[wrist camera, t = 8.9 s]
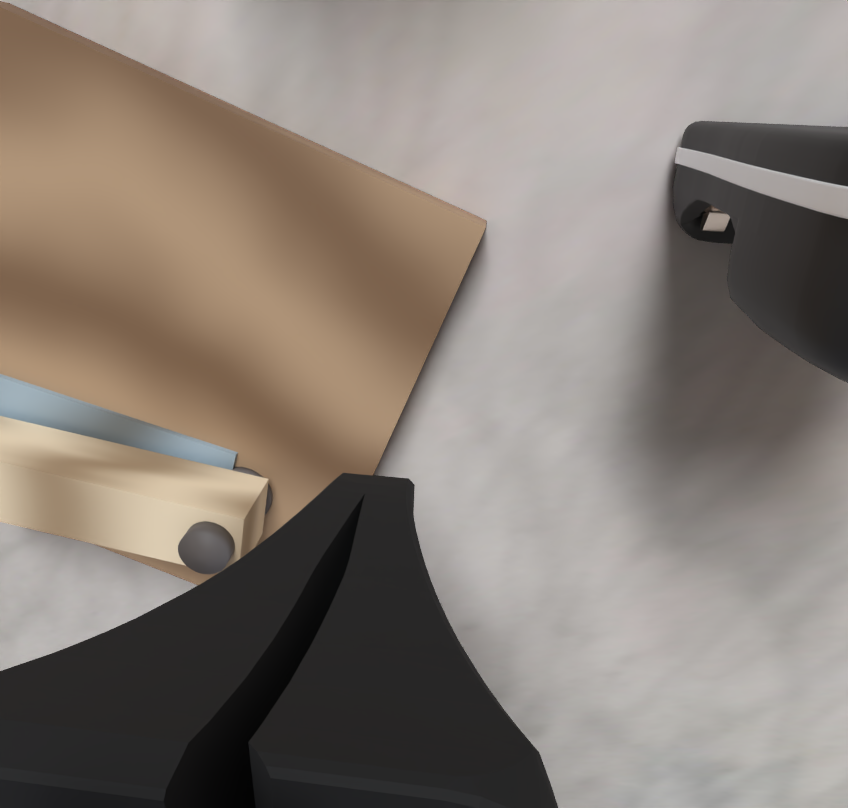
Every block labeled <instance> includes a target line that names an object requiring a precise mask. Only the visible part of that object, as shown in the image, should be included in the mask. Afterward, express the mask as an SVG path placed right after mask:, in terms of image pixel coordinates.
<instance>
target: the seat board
mask: <svg viewBox="0 0 848 808" xmlns="http://www.w3.org/2000/svg"><path fill="white" fill-rule="evenodd" d="M486 222H487V221H486V220H484V219H482V218H479V217H477V216H475V215H473V214H471V213H468V212H466V211H464V210H462V209H460V208H457V207H455V206H453V205H451V204H449V203H446V202H444V201H442V200H440V199H438V198H436V197H433V196H431V195H429V194H427V193H425V192H422V191H420V190H418V189H416V188H414V187H411V186H409V185H407V184H405V183H403V182H400V181H398V180H396V179H394V178H392V177H389V176H387V175H385V174H383V173H381V172H378V171H376V170H374V169H372V168H370V167H367V166H365V165H363V164H361V163H359V162H356V161H354V160H352V159H350V158H348V157H345V156H343V155H341V154H339V153H337V152H334V151H332V150H330V149H328V148H326V147H324V146H321V145H319V144H317V143H315V142H313V141H310V140H308V139H306V138H304V137H302V136H299V135H297V134H295V133H293V132H291V131H288V130H286V129H284V128H282V127H280V126H277V125H275V124H273V123H271V122H269V121H266V120H264V119H262V118H260V117H258V116H255V115H253V114H251V113H249V112H247V111H244V110H242V109H240V108H238V107H236V106H233V105H231V104H229V103H227V102H225V101H223V100H220V99H218V98H216V97H214V96H212V95H209V94H207V93H205V92H203V91H201V90H198V89H196V88H194V87H192V86H190V85H187V84H185V83H183V82H181V81H179V80H176V79H174V78H172V77H170V76H168V75H165V74H163V73H161V72H159V71H157V70H154V69H152V68H150V67H148V66H146V65H143V64H141V63H139V62H137V61H135V60H132V59H130V58H128V57H126V56H124V55H122V54H119V53H117V52H115V51H113V50H111V49H108V48H106V47H104V46H102V45H100V44H97V43H95V42H93V41H91V40H89V39H86V38H84V37H82V36H80V35H78V34H75V33H73V32H71V31H69V30H67V29H64V28H62V27H60V26H58V25H56V24H53V23H51V22H49V21H47V20H45V19H42V18H40V17H38V16H36V15H34V14H31V13H29V12H27V11H25V10H23V9H21V8H18V7H16V6H14V5H12V4H10V3H6V2H1V1H0V416H3V417H7V418H11V419H16V420H20V421H24V422H28V423H33V424H37V425H41V426H45V427H50V428H54V429H58V430H63V431H67V432H71V433H75V434H80V435H84V436H88V437H92V438H97V439H101V440H105V441H109V442H114V443H118V444H122V445H126V446H131V447H135V448H139V449H143V450H148V451H152V452H156V453H160V454H165V455H169V456H173V457H177V458H182V459H186V460H190V461H195V462H199V463H203V464H207V465H212V466H216V467H220V468H224V469H229V470H233V471H237V472H241V473H246V474H250V475H254V476H258V477H263V478H267V479H269V482H268V490H267V499H266V507H265V516H264V524H263V533H262V535H261V537H260V539H259V541H258V543H257V545H256V546H258V545H259V544H260V543H262V542H263V541H264V540H266V539H267V538H268V537H270V536H271V535H272V534H273V533H275V532H276V531H277V530H278V529H279V528H281V527H282V526H283V525H284V524H285V523H286V522H288V521H289V520H290V519H291V518H292V517H293V516H295V515H296V514H297V513H298V512H299V511H301V510H302V509H303V508H304V507H305V506H306V505H307V504H308V503H309V502H311V501H312V500H313V499H314V498H315V497H316V496H317V495H318V494H319V493H320V492H322V491H323V490H324V489H325V488H326V487H327V486H328V485H329V484H330V483H331V482H332V481H334V480H335V479H336V478H337V477H338V476H339V475H341V474H342V473H351V474H362V475H373V474H374V472H375V470H376V467H377V465H378V463H379V461H380V459H381V456H382V454H383V452H384V450H385V448H386V445H387V443H388V441H389V439H390V437H391V435H392V432H393V430H394V428H395V426H396V424H397V421H398V419H399V417H400V415H401V413H402V410H403V408H404V406H405V404H406V402H407V399H408V397H409V395H410V393H411V391H412V388H413V386H414V384H415V382H416V380H417V378H418V375H419V373H420V371H421V369H422V367H423V364H424V362H425V360H426V358H427V356H428V353H429V351H430V349H431V347H432V345H433V342H434V340H435V338H436V336H437V334H438V331H439V329H440V327H441V325H442V323H443V321H444V318H445V316H446V314H447V312H448V310H449V307H450V305H451V303H452V301H453V299H454V296H455V294H456V292H457V290H458V288H459V285H460V283H461V281H462V279H463V277H464V274H465V272H466V270H467V268H468V266H469V263H470V261H471V259H472V257H473V255H474V253H475V250H476V248H477V246H478V244H479V242H480V239H481V237H482V235H483V233H484V231H485V228H486ZM95 545H97V544H95ZM98 546H100V547H103V548H105V549H108V550H110V551H113V552H115V553H118V554H120V555H123V556H125V557H128V558H131V559H133V560H136V561H138V562H141V563H143V564H146V565H148V566H151V567H153V568H156V569H158V570H161V571H164V572H166V573H169V574H171V575H174V576H176V577H179V578H181V579H184V580H186V581H189V582H192V583H194V584H197V585H200V584H201V583H203V582H205V581H206V580H208V579H210V578H211V577H213V576H214V575H216V574H218V573H215V574H201V573H198V572H195V571H193V570H192V569H190V568H189V567H187V566H185V565H181V564H177V563H173V562H168V561H164V560H160V559H156V558H152V557H147V556H143V555H139V554H135V553H130V552H126V551H122V550H118V549H113V548H109V547H105V546H101V545H98ZM256 546H255V547H256Z"/></svg>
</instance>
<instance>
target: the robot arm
mask: <svg viewBox="0 0 848 808" xmlns="http://www.w3.org/2000/svg"><path fill="white" fill-rule="evenodd" d="M413 508H414V484H413V483H412V482H411V481H410V480H409V479H407V478H396V477H385V476H374V475H362V474H351V473H342V474H341V475H339V476H338V477H337V478H336V479H335V480H334V481H332V482H331V483H330V484H329V485H328V486H327V487H326V488H325V489H324V490H323V491H322V492H320V493H319V494H318V495H317V496H316V497H315V498H314V499H313V500H312V501H311V502H309V503H308V504H307V505H306V506H305V507H304V508H303V509H302V510H301V511H299V512H298V513H297V514H296V515H295V516H293V517H292V518H291V519H290V520H289V521H288V522H286V523H285V524H284V525H283V526H282V527H281V528H279V529H278V530H277V531H276V532H275V533H273V534H272V535H271V536H270V537H268V538H267V539H266V540H264V541H263V542H262V543H260V544H259V545H258V546H256V547H255V548H254V549H252V550H251V551H250V552H248V553H247V554H246V555H244V556H243V557H242V558H240V559H239V560H238V561H236V562H235V563H233V564H232V565H230V566H229V567H227V568H226V569H224V570H223V571H221V572H219V573H218V574H216V575H214V576H213V577H211V578H210V579H208V580H206V581H205V582H203V583H201V584H200V585H198V586H196V587H195V588H193V589H191V590H189V591H188V592H186V593H184V594H182V595H180V596H178V597H176V598H174V599H172V600H171V601H169V602H167V603H165V604H163V605H161V606H159V607H157V608H155V609H153V610H151V611H149V612H147V613H145V614H144V615H142V616H140V617H138V618H136V619H133V620H131V621H129V622H127V623H125V624H122V625H120V626H118V627H116V628H114V629H111V630H109V631H107V632H105V633H102V634H100V635H97V636H95V637H93V638H90V639H88V640H85V641H83V642H80V643H78V644H75V645H73V646H70V647H68V648H65V649H63V650H60V651H57V652H55V653H52V654H49V655H46V656H43V657H41V658H38V659H35V660H32V661H29V662H26V663H23V664H20V665H17V666H14V667H11V668H8V669H6V670H3V671H0V808H558V806H557V803H556V799H555V796H554V793H553V790H552V787H551V784H550V781H549V779H548V776H547V773H546V770H545V767H544V765H543V762H542V759H541V756H540V754H539V752H538V751H537V749H536V748H535V747H534V746H533V745H532V744H531V742H530V741H529V740H528V739H527V738H526V737H525V735H524V734H523V733H522V732H521V731H520V729H519V728H518V727H517V726H516V724H515V723H514V722H513V721H512V719H511V718H510V717H509V716H508V714H507V713H506V712H505V710H504V709H503V708H502V706H501V705H500V704H499V702H498V701H497V699H496V698H495V697H494V695H493V694H492V693H491V691H490V690H489V688H488V687H487V686H486V684H485V683H484V681H483V680H482V678H481V676H480V675H479V673H478V672H477V670H476V668H475V667H474V665H473V663H472V662H471V660H470V659H469V657H468V655H467V654H466V652H465V651H464V649H463V647H462V646H461V644H460V642H459V640H458V639H457V637H456V635H455V633H454V631H453V629H452V627H451V625H450V623H449V621H448V619H447V617H446V615H445V613H444V611H443V609H442V606H441V604H440V602H439V600H438V597H437V595H436V593H435V590H434V588H433V585H432V582H431V580H430V577H429V574H428V571H427V568H426V565H425V562H424V559H423V556H422V553H421V549H420V545H419V541H418V537H417V533H416V528H415V523H414V516H413Z"/></svg>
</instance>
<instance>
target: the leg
mask: <svg viewBox="0 0 848 808" xmlns="http://www.w3.org/2000/svg"><path fill="white" fill-rule="evenodd" d="M268 482H269V479H267V478H263V477H258V476H254V475H250V474H246V473H241V472H237V471H233V470H229V469H224V468H220V467H216V466H212V465H207V464H203V463H199V462H195V461H190V460H186V459H182V458H177V457H173V456H169V455H165V454H160V453H156V452H152V451H148V450H143V449H139V448H135V447H131V446H126V445H122V444H118V443H114V442H109V441H105V440H101V439H97V438H92V437H88V436H84V435H80V434H75V433H71V432H67V431H63V430H58V429H54V428H50V427H45V426H41V425H37V424H33V423H28V422H24V421H20V420H16V419H11V418H7V417H3V416H0V522H3V523H8V524H12V525H16V526H20V527H25V528H29V529H33V530H37V531H41V532H46V533H50V534H54V535H58V536H63V537H67V538H71V539H75V540H80V541H84V542H88V543H92V544H97V545H101V546H105V547H109V548H113V549H118V550H122V551H126V552H130V553H135V554H139V555H143V556H147V557H152V558H156V559H160V560H164V561H168V562H173V563H177V564H181V565H185V566H187V567H189V568H190V569H192V570H193V571H195V572H198V573H201V574H215V573H219V572H221V571H223V570H224V569H226V568H227V567H229V566H230V565H232V564H233V563H235V562H236V561H238V560H239V559H240V558H242V557H243V556H244V555H246V554H247V553H248V552H250V551H251V550H252V549H254V548H255V546H256V545H257V543H258V541H259V539H260V537H261V535H262V533H263V524H264V516H265V507H266V499H267V490H268Z"/></svg>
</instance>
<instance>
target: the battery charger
mask: <svg viewBox="0 0 848 808" xmlns="http://www.w3.org/2000/svg"><path fill="white" fill-rule="evenodd" d="M675 163H676V164H678V165H677V170H676V175H675V180H674V185H673V193H674V211H675V215H676V219H677V222H678V224H679V226H680V227H681V228H682V230H683V231H684V232H685V233H687V234H688V235H689V236H691V237H693V238H695V239H698V240H703V241H709V242H716V243H730V244H733V245H732V249H731V254H730V260H729V268H728V276H727V282H728V287H729V292H730V298H731V299H732V300H733V301H734V302H735V303H736V305H737V306H738V307H739V308H740V309H741V310H742V311H743V312H744V313H745V314H746V315H747V316H748V317H749V318H750V319H751V320H752V321H753V322H754V323H755V324H756V325H757V326H758V327H759V328H760V329H761V330H763V331H764V332H765V333H767V334H768V335H770V336H771V337H772V338H774V339H775V340H776V341H778V342H779V343H781V344H782V345H784V346H785V347H787V348H788V349H789V350H791V351H792V352H794V353H796V354H797V355H799V356H800V357H802V358H803V359H805V360H806V361H808V362H809V363H811V364H813V365H815V366H817V367H818V368H820V369H822V370H824V371H826V372H828V373H830V374H831V375H833V376H835V377H837V378H839V379H841V380H843V381H846V382H848V127H831V126H808V125H784V124H760V123H736V122H712V121H699V122H694V123H692V124H690V125H689V126H688V127H687V128H686V130H685V132H684V135H683V139H682V144H681V147H678V148H677V153H676V158H675Z"/></svg>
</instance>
